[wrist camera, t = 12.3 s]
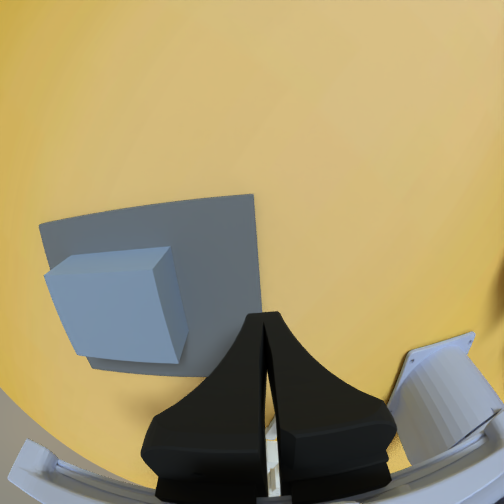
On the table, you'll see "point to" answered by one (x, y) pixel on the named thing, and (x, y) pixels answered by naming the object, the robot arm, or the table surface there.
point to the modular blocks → (272, 460)
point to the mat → (180, 268)
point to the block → (121, 305)
